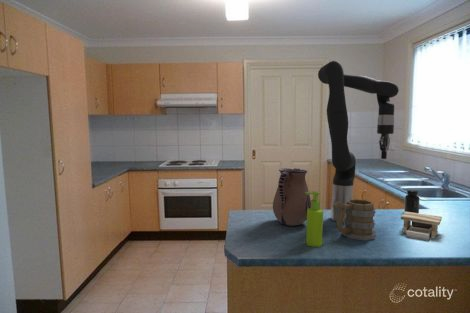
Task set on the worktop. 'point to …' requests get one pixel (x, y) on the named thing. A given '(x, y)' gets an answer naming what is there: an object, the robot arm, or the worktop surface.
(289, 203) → the ceramic pitcher
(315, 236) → the soap dispenser
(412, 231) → the white pull-out drawer
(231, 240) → the worktop surface
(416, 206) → the supplement bottle
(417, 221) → the small wooden table
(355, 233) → the tankard
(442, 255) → the worktop surface
